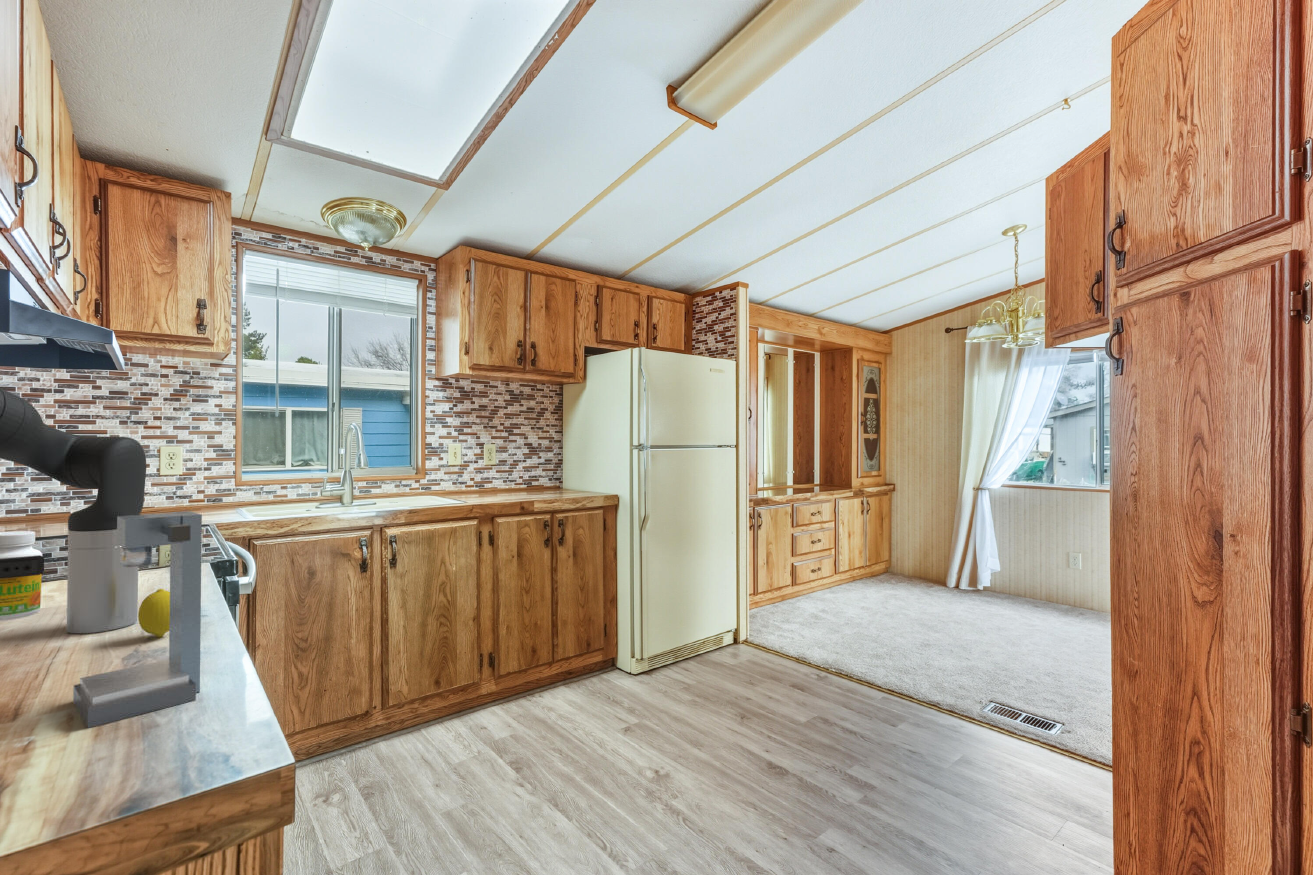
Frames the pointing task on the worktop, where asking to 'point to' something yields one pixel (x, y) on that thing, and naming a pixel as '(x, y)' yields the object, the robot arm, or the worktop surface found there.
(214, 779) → the worktop surface
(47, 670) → the worktop surface
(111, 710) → the arbor press
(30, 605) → the supplement bottle
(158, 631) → the lemon
